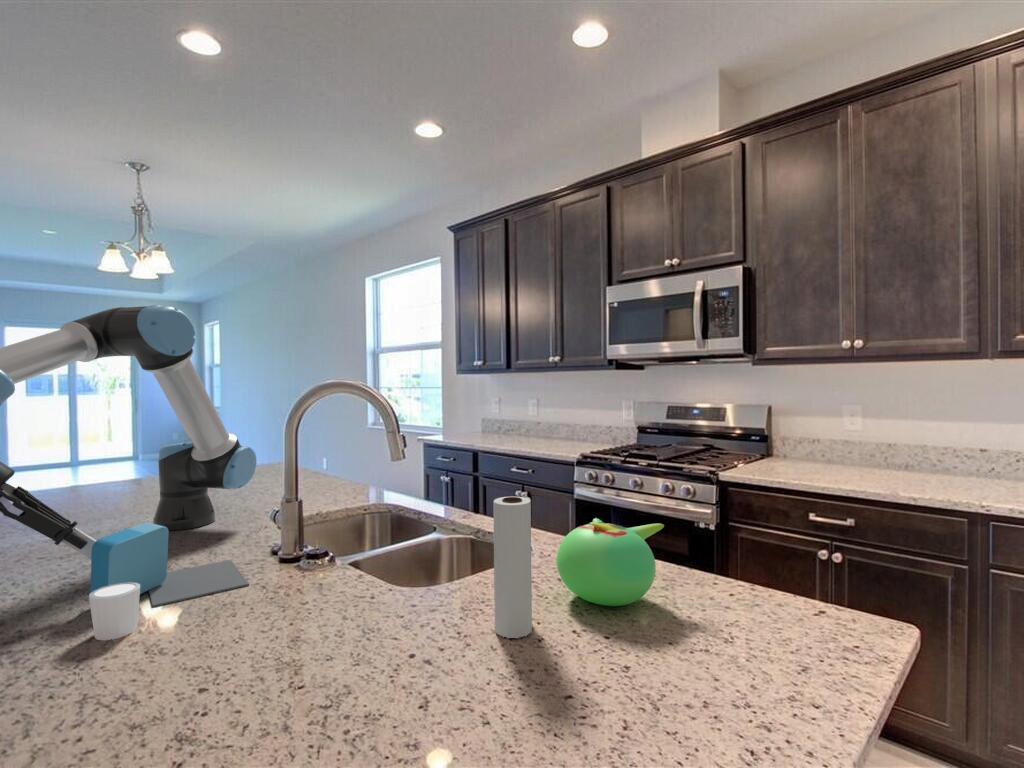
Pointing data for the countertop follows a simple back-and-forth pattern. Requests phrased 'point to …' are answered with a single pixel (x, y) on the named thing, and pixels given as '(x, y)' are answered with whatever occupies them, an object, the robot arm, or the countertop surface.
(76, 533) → the robot arm
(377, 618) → the countertop surface
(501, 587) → the paper towel roll
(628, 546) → the green rounded piece
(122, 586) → the white short cylinder
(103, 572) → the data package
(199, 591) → the mat
